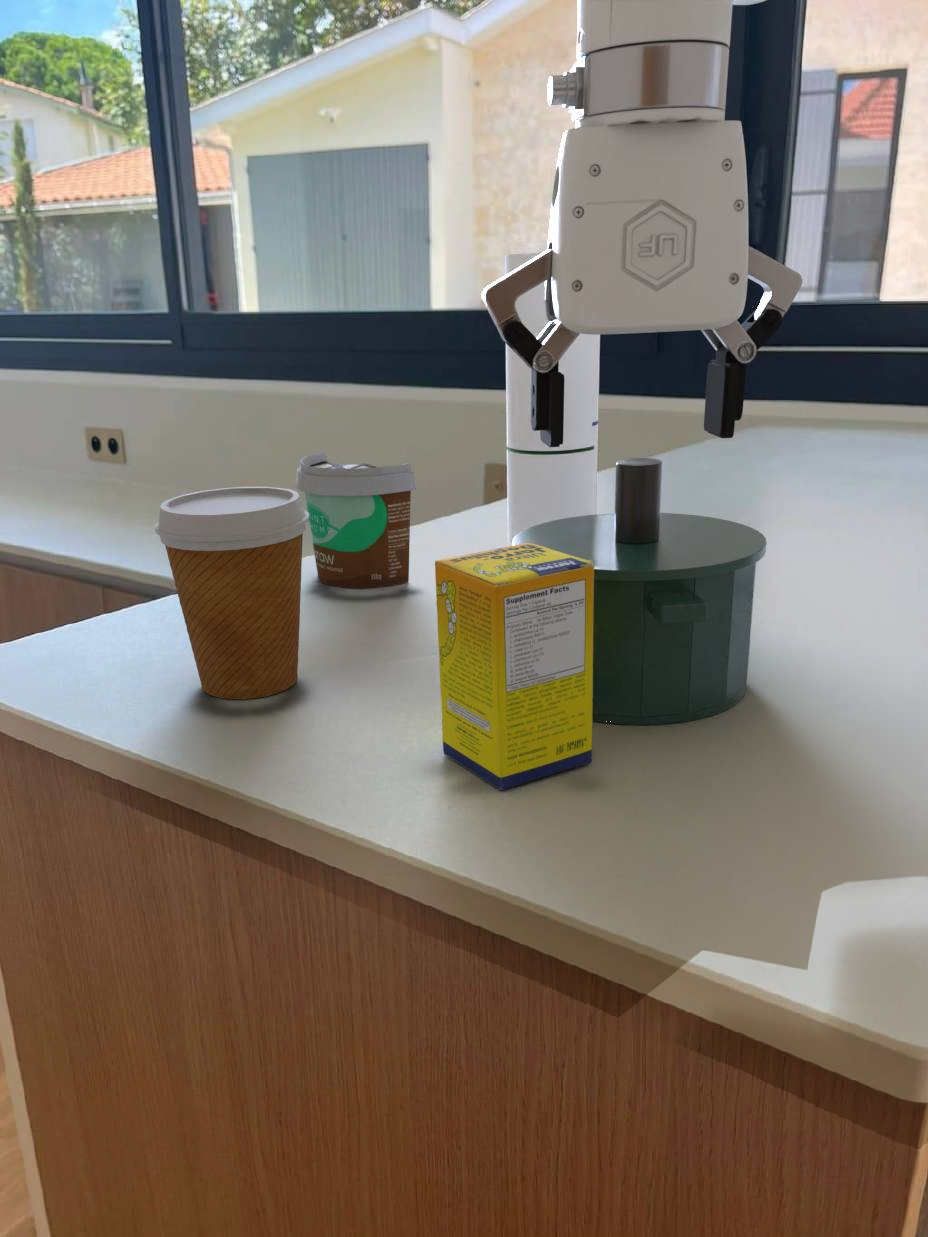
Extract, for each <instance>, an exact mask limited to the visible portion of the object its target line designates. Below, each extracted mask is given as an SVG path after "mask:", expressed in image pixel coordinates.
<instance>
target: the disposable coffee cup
mask: <svg viewBox="0 0 928 1237" xmlns="http://www.w3.org/2000/svg"><path fill="white" fill-rule="evenodd" d="M158 516H159V517H158V522H157V523H156V524H155V525H154V531H155V533H156V535H158V536H159V539H160V542H161V543H162V544H163V545H164V547H165V551H166V553H167V558H168V562H169V566H170V570H171V574H172V577H173V580H174V585H175V588H176V593H177V596H178V600H179V604H180V608H181V612H182V615H183V620H184V623H185V626H186V627H185V628H186V632H187V635H188V640H189V642H190V646H191V650H192V654H193V658H194V661H195V665H196V669H197V673H198V677H199V680H200V686H201V689H202V691H203V692H204V693H206V694H208V695H209V696H212V697H215V698H220V699H229V700H248V699H249V700H250V699H256V698H264V697H269V696H271V695H275V694H278V693H281V692H284V691H286V690H289V688H291V687H293V686H294V685H295V684H296V683H297V682H298V676H299V673H298V671H299V647H300V645H299V644H300V626H301V624H300V623H301V621H300V620H301V619H300V618H301V593H302V591H301V590H302V563H303V562H302V561H303V541H304V540H303V537H304V532H305V531H306V529H307V523H309V513H308V512H307V509H304V507H303V502H302V499H301V496H300V494H299V492H298V491H296V490H293V489H289V488H286V487H285V488H284V487H275V486H236V487H235V486H233V487H224V488H215V489H207V490H200V491H194V492H190V493H189V492H188V493H184V494H181V495H178V496H174V497H171V498H168V499H166V500H164V501H162V503H161V504H160V506H159V515H158Z"/></svg>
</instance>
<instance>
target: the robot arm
mask: <svg viewBox="0 0 928 1237" xmlns="http://www.w3.org/2000/svg"><path fill="white" fill-rule="evenodd" d="M766 1H767V0H577V27H576V28H577V31H576V32H577V34H576V40H577V41H576V60H577V61H576V62H575V63H574V64H573V66H572V68H571V69H570V70H569V71H565V72H564V73H563V74H561V75H560V74H557V75H550V76H549V78H548V83H547V102H548V103H547V104H548V105H549V106H562V108H563V109H569V111H568V112H569V113H571V121H572V122H575V125H574V128H570V129H567V130H565V132H563V133H562V139H561V143H560V148H559V151H558V152H559V153H558V158H557V164H556V169H555V175H554V180H553V190H552V197H551V207H550V218H549V227H548V237H547V248H546V250H545V251H543V252H541V253H542V254H540V255H538V256H537V257H535V258H534V259H532V260H530V261H529V262H527V263H525V264H524V265H522V266H520V267H519V268H517V269H515V270H514V271H512V272H510V273H509V274H507V275H505V274H504V276H502V277H500V278H499V279H497V280H496V281H493V282H492V283H491V284H489V285H487V286H486V287H485V288H483V291H482V292H481V299H482V301H483V304H484V306H485V308H486V310H487V311H488V314H489V316H490V317H491V320H492V322H493V324H494V325H495V327H496V329H497V331H498V333H499V336H500V338H501V340H502V341H503V342H504V343H505V345H506V344H507V345H508V346H509V347H510V348H511V349H512V350H513V351H514V352H515V353H516V354H517V355H518V356H519V357H520V358H521V359H522V360H523V361H524V362H525V363H526V365H527V366H528V367H529V368H531V426H532V429H533V430H534V431H540V438H541V441H542V442H543V443H545V444H546V445H547V446H549V447H559V446H560V444H563V427H564V374H562V373H561V372H558V367H559V360H560V358H561V357H562V356H563V355H564V353H565V352H566V351H567V350H568V348H569V347H570V346H571V344H572V343H573V342H574V341H575V339H576V338H577V337H578V336H579V334H580V333H581V334H590V335H600V336H601V335H623V334H624V335H626V334H646V333H647V334H648V333H667V332H670V333H671V332H687V331H701V333H702V335H704V337H705V338H706V339H707V341H708V342H709V343H710V345H711V347H713V349H714V350H715V359H710V362H708V365H707V371H706V372H707V373H706V387H705V399H704V400H705V401H704V415H703V430H704V431H705V432H707V433H708V434H710V435H713V436H715V437H717V438H720V439H732V438H734V435H735V425H736V421H738V422H739V421H741V419H742V417H743V414H744V402H745V390H746V389H745V387H746V375H747V364H748V363H750V362H752V361H754V359H755V357H756V355H757V353H758V351H759V350H760V348H761V347H762V346H763V345H765V343H766V342H767V341H768V340H769V339H770V338H771V337H772V336H773V335H774V334H775V333H776V332H778V330H779V329H780V328H781V327H782V324H783V318H784V316H785V314H786V313H787V312H788V310H789V309H790V307H791V306H792V303H793V302H794V300H795V298H796V297H797V295H798V293H799V291H800V289H801V288H802V285H803V276H802V275H801V274H800V273H799V272H797V271H795V270H793V269H792V268H790V267H788V266H786V265H784V264H782V263H781V262H779V261H777V260H776V259H774V258H772V257H770V256H768V255H767V254H765V253H763V252H761V251H759V250H758V249H755V248H754V247H752V246H750V245H749V244H750V242H749V193H748V192H749V191H748V175H747V159H746V147H745V139H744V133H743V132H744V131H743V126H742V121H741V120H733V119H732V120H726V119H725V118H726V117H725V116H726V106H727V105H726V104H727V88H728V72H729V59H730V46H731V35H732V34H731V32H732V21H733V20H732V19H733V6H751V5H756V4H760V3H763V2H766ZM748 280H751V281H753V282H754V283H756V284H758V285H760V286H761V287H762V289H763V295H762V297H761V299H760V303H759V305H758V306H757V309H756V310H753V311H752V313H751V314H750V315H749V316H748V317H747V318H746V319H745V320H744V321H743V322H742V323H740V322H739V321H738V320H739V319H740V317H741V316H742V315H743V313H744V310H745V306H746V301H747V293H748ZM544 281H545V308H546V315H547V318H548V320H549V323H548V325H547V326H546V327H545V328H544V330H543V331H542V332H541V334H540V335H539V336H538V337H537V338H536V337H535V336H534V335H533V334H532V333H531V332H530V331H529V330H528V329H527V328H526V327H525V326H524V325H523V324H522V322H521V320H520V318H519V316H518V313H517V311H516V308H515V302H516V300H517V298H518V297H520V296H521V295H523V294H524V293H526V292H528V291H529V290H531V289H533V288H534V287H536V286H538V285H539V284H541V283H543V282H544Z"/></svg>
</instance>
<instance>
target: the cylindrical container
mask: <svg viewBox="0 0 928 1237" xmlns="http://www.w3.org/2000/svg"><path fill="white" fill-rule="evenodd" d="M542 253H543V252H528V253H527V252H526V253H512V254H511V253H510V254H504V276H505V275H507V274H509V273H510V272H512V271H514V270H515V269H517V268H519V267H520V266H522V265H524V264H525V263H527V262H529V261H530V260H532V259H534V258H535V257H537V256H538V255H540V254H542ZM515 308H516V311H517V313H518V316H519V318H520V320H521V322H522V324H523V325H524V326H525V327H526V328H527V329H528V330H529V331H530V332H531V333H532V334H533V335H534V336H535V337H536V338H537V337H538V336H539V335H540V334H541V332H542V331H543V330H544V328H545V327H546V326H547V325H548V323H549V320H548V318H547V315H546V308H545V281H544V282H543V283H541V284H539V285H538V286H536V287H534V288H533V289H531V290H529V291H528V292H526V293H524V294H523V295H521V296H520V297H518V298H517V300H516V302H515ZM600 352H601V335H590V334H581V333H580V334H579V336H578V337H577V338H576V339H575V341H574V342H573V343H572V344H571V346H570V347H569V348H568V350H567V351H566V352H565V353H564V355H563V356H562V357H561V358H560V360H559V367H558V372H561V373H562V374H564V427H563V444H560V446H559V447H549V446H547V445H546V444H545V443H543V442H542V441H541V438H540V431H534V430H533V429H532V426H531V368H529V367H528V366H527V365H526V363H525V362H524V361H523V360H522V359H521V358H520V357H519V356H518V355H517V354H516V353H515V352H514V351H513V350H512V349H511V348H510V347H509V346H508V345H507V344H506V343H505V398H506V399H505V403H506V404H505V405H506V406H505V408H506V412H505V413H506V414H505V415H506V417H505V418H506V422H505V423H506V498H507V500H506V502H507V504H506V506H507V507H506V508H507V510H506V511H507V547H508V546H512V542H513V539H514V538H515V536H516V535H517V534H519V533H520V532H522V531H524V530H526V529H528V528H530V527H533V526H536V525H539V524H542V523H546V522H550V521H554V520H559V519H565V518H571V517H578V516H586V515H596V514H597V505H598V504H597V501H598V499H597V498H598V458H599V456H598V453H599V452H598V450H599V449H598V448H599V443H598V442H599V422H598V421H599V404H600V401H599V399H600V354H601V353H600Z"/></svg>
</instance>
